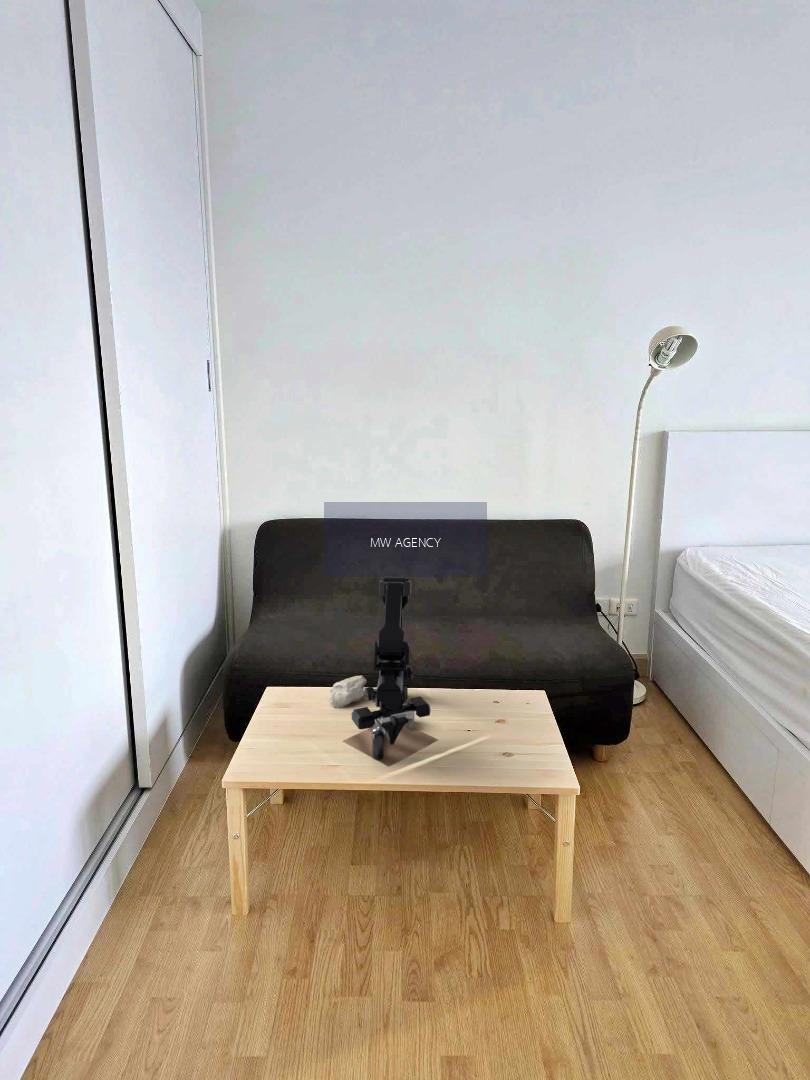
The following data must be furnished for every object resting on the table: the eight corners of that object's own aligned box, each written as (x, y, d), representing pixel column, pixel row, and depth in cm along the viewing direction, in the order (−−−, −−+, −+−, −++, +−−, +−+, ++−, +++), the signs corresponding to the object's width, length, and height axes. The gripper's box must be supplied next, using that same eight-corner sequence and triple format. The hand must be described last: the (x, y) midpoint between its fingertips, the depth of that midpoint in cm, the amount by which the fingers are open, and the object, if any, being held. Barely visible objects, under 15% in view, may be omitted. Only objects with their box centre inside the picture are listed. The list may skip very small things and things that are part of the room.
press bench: (398, 717, 202) (398, 702, 200) (444, 739, 190) (445, 723, 189) (342, 744, 187) (342, 728, 186) (388, 770, 176) (388, 753, 175)
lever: (387, 724, 195) (387, 703, 194) (385, 759, 178) (385, 736, 177) (373, 724, 195) (373, 703, 194) (370, 759, 178) (370, 736, 177)
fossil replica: (321, 710, 206) (353, 718, 203) (321, 684, 203) (355, 692, 200) (338, 689, 217) (370, 697, 214) (339, 664, 214) (371, 672, 211)
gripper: (413, 666, 187) (412, 721, 191) (343, 679, 180) (344, 736, 184) (431, 684, 177) (431, 742, 181) (359, 697, 170) (360, 758, 174)
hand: (391, 743), depth 180 cm, fingers closed
